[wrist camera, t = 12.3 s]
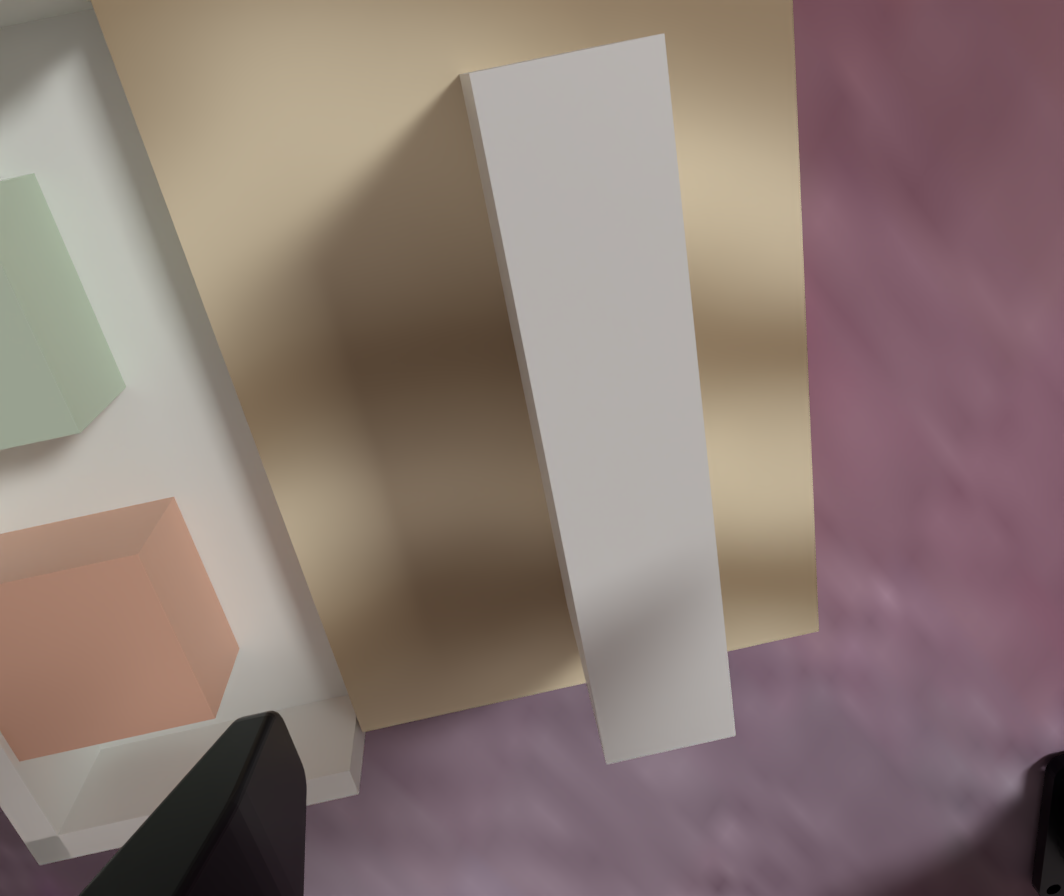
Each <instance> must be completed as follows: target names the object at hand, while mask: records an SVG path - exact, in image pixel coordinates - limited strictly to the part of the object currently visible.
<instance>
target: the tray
mask: <svg viewBox="0 0 1064 896" xmlns="http://www.w3.org/2000/svg"><path fill="white" fill-rule="evenodd" d="M33 173H34V174H35V176H36V179H37V181H38V183H39V186H40V188H41V190H42V193H43V195H44V197H45V199H46V202H47V204H48V206H49V209H50V211H51V213H52V216H53V218H54V220H55V223H56V225H57V227H58V230H59V232H60V234H61V237H62V239H63V241H64V244H65V246H66V248H67V250H68V253H69V255H70V257H71V260H72V262H73V264H74V267H75V269H76V271H77V274H78V276H79V278H80V281H81V283H82V285H83V288H84V290H85V292H86V295H87V297H88V299H89V302H90V304H91V306H92V308H93V311H94V313H95V315H96V318H97V320H98V322H99V325H100V327H101V329H102V332H103V334H104V336H105V339H106V341H107V343H108V346H109V348H110V350H111V353H112V355H113V357H114V360H115V362H116V364H117V366H118V369H119V371H120V373H121V376H122V378H123V380H124V383H125V385H126V388H125V389H124V390H123V391H122V392H121V393H120V394H119V395H118V396H117V397H116V398H115V399H114V400H113V401H112V402H111V403H110V404H109V405H108V406H107V407H106V408H105V409H104V410H103V411H102V412H101V413H100V414H99V415H98V416H97V417H96V418H95V419H94V420H93V421H92V422H91V423H90V424H89V425H88V426H87V427H86V428H85V429H84V430H83V431H82V432H81V433H78V434H73V435H69V436H64V437H59V438H55V439H50V440H45V441H40V442H36V443H31V444H26V445H22V446H17V447H12V448H7V449H3V450H0V534H2V533H7V532H11V531H16V530H21V529H25V528H30V527H35V526H39V525H44V524H49V523H53V522H58V521H63V520H67V519H72V518H76V517H81V516H86V515H90V514H95V513H100V512H104V511H109V510H114V509H118V508H123V507H128V506H132V505H137V504H142V503H146V502H151V501H156V500H160V499H165V498H170V497H175V500H176V502H177V504H178V507H179V509H180V511H181V514H182V516H183V518H184V521H185V523H186V525H187V528H188V530H189V532H190V535H191V537H192V539H193V542H194V544H195V546H196V548H197V551H198V553H199V555H200V558H201V560H202V562H203V565H204V567H205V569H206V572H207V574H208V576H209V579H210V581H211V583H212V586H213V588H214V590H215V592H216V595H217V597H218V599H219V602H220V604H221V606H222V609H223V611H224V613H225V616H226V618H227V620H228V623H229V625H230V627H231V630H232V632H233V634H234V637H235V639H236V641H237V643H238V646H239V648H240V649H239V652H238V654H237V657H236V660H235V663H234V666H233V669H232V672H231V675H230V678H229V681H228V683H227V686H226V689H225V692H224V695H223V698H222V701H221V704H220V707H219V710H218V712H217V715H216V718H215V719H211V720H206V721H202V722H197V723H193V724H188V725H184V726H179V727H174V728H170V729H165V730H161V731H156V732H152V733H147V734H143V735H138V736H134V737H129V738H124V739H120V740H115V741H111V742H106V743H102V744H97V745H93V746H88V747H84V748H79V749H74V750H70V751H65V752H61V753H56V754H52V755H47V756H43V757H38V758H34V759H29V760H24V761H20V762H19V760H18V759H17V757H16V755H15V754H14V752H13V751H12V749H11V747H10V746H9V744H8V743H7V741H6V739H5V738H4V736H3V735H2V733H1V731H0V807H1V809H2V810H3V812H4V813H5V815H6V816H7V818H8V819H9V821H10V822H11V824H12V825H13V827H14V828H15V830H16V831H17V833H18V834H19V836H20V837H21V839H22V840H23V842H24V843H25V845H26V846H27V848H28V849H29V851H30V852H31V854H32V855H33V857H34V858H35V860H36V861H37V863H38V864H39V865H44V864H48V863H53V862H57V861H62V860H66V859H71V858H75V857H80V856H84V855H89V854H93V853H98V852H102V851H107V850H111V849H115V848H120V847H122V846H123V845H124V844H125V843H126V842H127V841H128V839H129V838H130V837H131V836H132V835H133V834H134V833H135V832H136V830H137V829H138V828H139V827H140V826H141V825H142V824H143V823H144V821H145V820H146V819H147V818H148V817H149V816H150V815H151V814H152V812H153V811H154V810H155V809H156V808H157V807H158V806H159V805H160V803H161V802H162V801H163V800H164V799H165V798H166V797H167V796H168V794H169V793H170V792H171V791H172V790H173V789H174V788H175V787H176V785H177V784H178V783H179V782H180V781H181V780H182V779H183V778H184V776H185V775H186V774H187V773H188V772H189V771H190V770H191V769H192V767H193V766H194V765H195V764H196V763H197V762H198V761H199V760H200V759H201V757H202V756H203V755H204V754H205V753H206V752H207V751H208V750H209V748H210V747H211V746H212V745H213V744H214V743H215V742H216V741H217V739H218V738H219V737H220V736H221V735H222V734H223V733H224V732H225V730H226V729H227V728H228V727H229V726H230V725H231V724H232V723H233V722H234V721H235V720H236V719H238V718H240V717H243V716H247V715H252V714H257V713H261V712H266V711H275V712H278V713H279V714H280V715H281V717H282V718H283V720H284V722H285V724H286V726H287V729H288V731H289V734H290V736H291V738H292V741H293V743H294V745H295V748H296V750H297V752H298V755H299V757H300V759H301V762H302V764H303V767H304V771H305V776H306V784H307V798H306V806H308V805H312V804H317V803H321V802H326V801H330V800H335V799H339V798H344V797H348V796H353V795H357V794H359V789H360V779H361V770H362V761H363V752H364V743H365V733H366V732H362V730H361V727H360V725H359V722H358V719H357V716H356V714H355V711H354V708H353V706H352V703H351V700H350V698H349V695H348V692H347V690H346V687H345V684H344V681H343V679H342V676H341V673H340V671H339V668H338V665H337V663H336V660H335V657H334V654H333V652H332V649H331V646H330V644H329V641H328V638H327V636H326V633H325V630H324V628H323V625H322V622H321V619H320V617H319V614H318V611H317V609H316V606H315V603H314V601H313V598H312V595H311V593H310V590H309V587H308V584H307V582H306V579H305V576H304V574H303V571H302V568H301V566H300V563H299V560H298V558H297V555H296V552H295V549H294V547H293V544H292V541H291V539H290V536H289V533H288V531H287V528H286V525H285V523H284V520H283V517H282V514H281V512H280V509H279V506H278V504H277V501H276V498H275V496H274V493H273V490H272V488H271V485H270V482H269V479H268V477H267V474H266V471H265V469H264V466H263V463H262V461H261V458H260V455H259V453H258V450H257V447H256V444H255V442H254V439H253V436H252V434H251V431H250V428H249V426H248V423H247V420H246V418H245V415H244V412H243V409H242V407H241V404H240V401H239V399H238V396H237V393H236V391H235V388H234V385H233V383H232V380H231V377H230V374H229V372H228V369H227V366H226V364H225V361H224V358H223V356H222V353H221V350H220V348H219V345H218V342H217V339H216V337H215V334H214V331H213V329H212V326H211V323H210V321H209V318H208V315H207V313H206V310H205V307H204V304H203V302H202V299H201V296H200V294H199V291H198V288H197V286H196V283H195V280H194V278H193V275H192V272H191V269H190V267H189V264H188V261H187V259H186V256H185V253H184V251H183V248H182V245H181V243H180V240H179V237H178V234H177V232H176V229H175V226H174V224H173V221H172V218H171V216H170V213H169V210H168V208H167V205H166V202H165V199H164V197H163V194H162V191H161V189H160V186H159V183H158V181H157V178H156V175H155V173H154V170H153V167H152V164H151V162H150V159H149V156H148V154H147V151H146V148H145V146H144V143H143V140H142V138H141V135H140V132H139V129H138V127H137V124H136V121H135V119H134V116H133V113H132V111H131V108H130V105H129V103H128V100H127V97H126V94H125V92H124V89H123V86H122V84H121V81H120V78H119V76H118V73H117V70H116V68H115V65H114V62H113V59H112V57H111V54H110V51H109V49H108V46H107V43H106V41H105V38H104V35H103V33H102V30H101V27H100V24H99V22H98V19H97V16H96V14H95V11H94V8H93V6H92V3H91V0H0V180H3V179H8V178H13V177H18V176H23V175H28V174H33Z"/></svg>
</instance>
